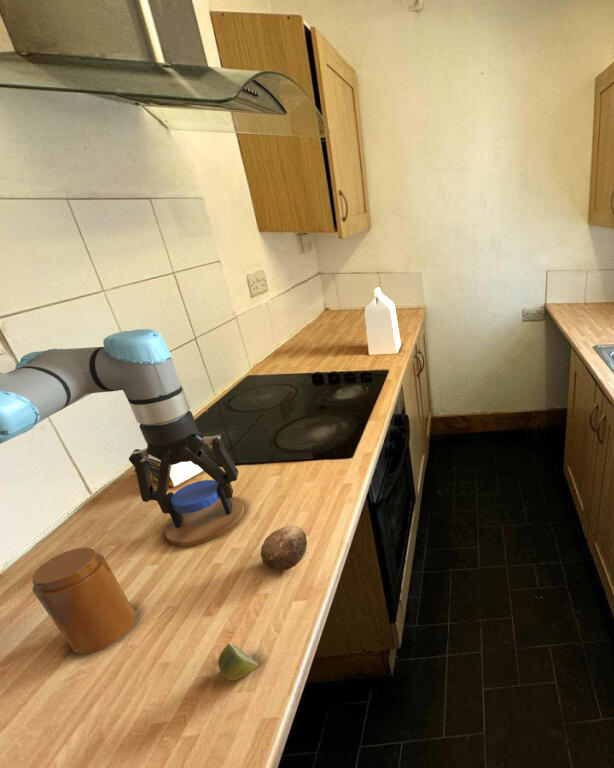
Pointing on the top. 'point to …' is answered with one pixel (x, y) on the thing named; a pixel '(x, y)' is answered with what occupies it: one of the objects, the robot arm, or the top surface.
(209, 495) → the lid
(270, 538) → the brown oval lump
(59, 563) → the jar
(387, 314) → the milk
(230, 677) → the lime
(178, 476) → the medicine bottle
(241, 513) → the coaster
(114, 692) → the top surface
